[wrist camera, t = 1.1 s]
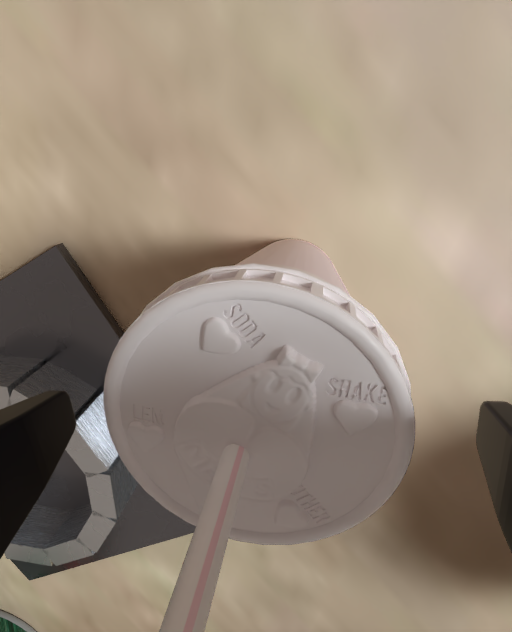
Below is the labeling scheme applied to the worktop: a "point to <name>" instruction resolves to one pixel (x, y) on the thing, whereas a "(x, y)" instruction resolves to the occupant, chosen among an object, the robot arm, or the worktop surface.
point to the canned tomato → (13, 623)
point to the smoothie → (258, 410)
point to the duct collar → (91, 428)
